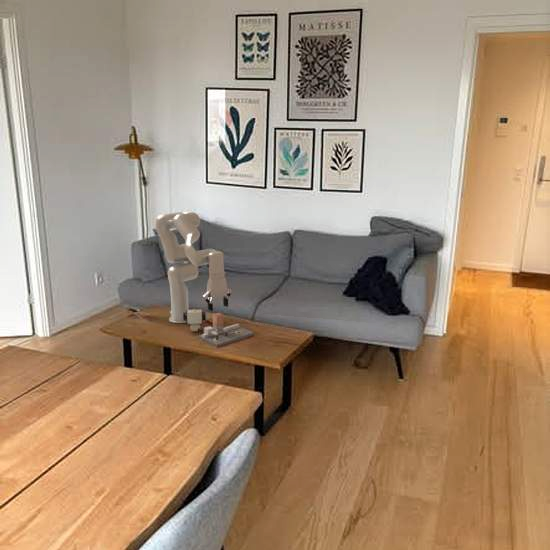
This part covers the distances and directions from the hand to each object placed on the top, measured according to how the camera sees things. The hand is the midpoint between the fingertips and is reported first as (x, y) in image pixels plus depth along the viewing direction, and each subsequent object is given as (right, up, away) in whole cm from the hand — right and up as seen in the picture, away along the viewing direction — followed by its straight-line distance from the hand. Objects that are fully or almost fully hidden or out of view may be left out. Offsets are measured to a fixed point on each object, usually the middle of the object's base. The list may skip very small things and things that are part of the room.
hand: (218, 308), depth 278 cm
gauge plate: (+4, -15, +3) cm, 16 cm away
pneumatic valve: (-14, -13, +12) cm, 22 cm away
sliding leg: (+1, -13, +2) cm, 13 cm away
